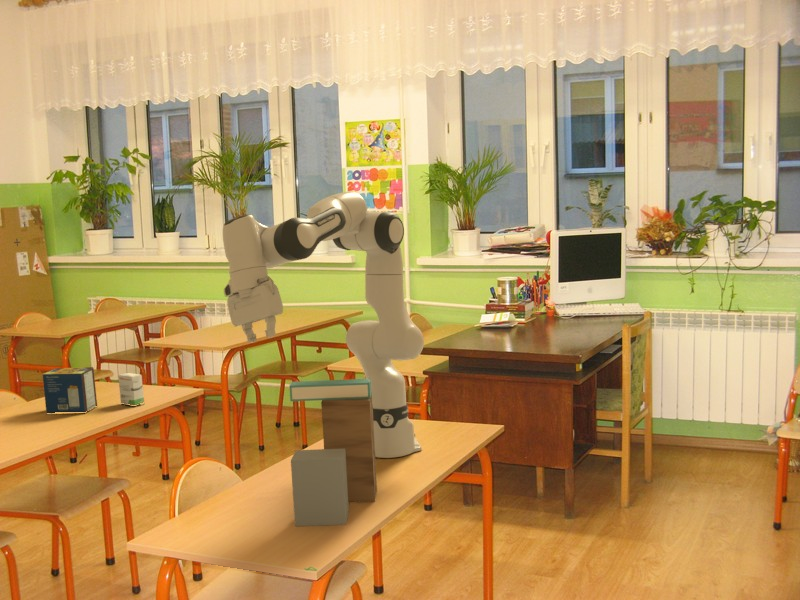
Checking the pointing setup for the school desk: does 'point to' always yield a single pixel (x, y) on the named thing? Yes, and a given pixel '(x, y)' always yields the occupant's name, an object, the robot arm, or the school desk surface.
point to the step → (320, 487)
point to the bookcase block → (353, 443)
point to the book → (330, 390)
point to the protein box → (69, 390)
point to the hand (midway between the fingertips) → (261, 339)
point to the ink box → (131, 388)
